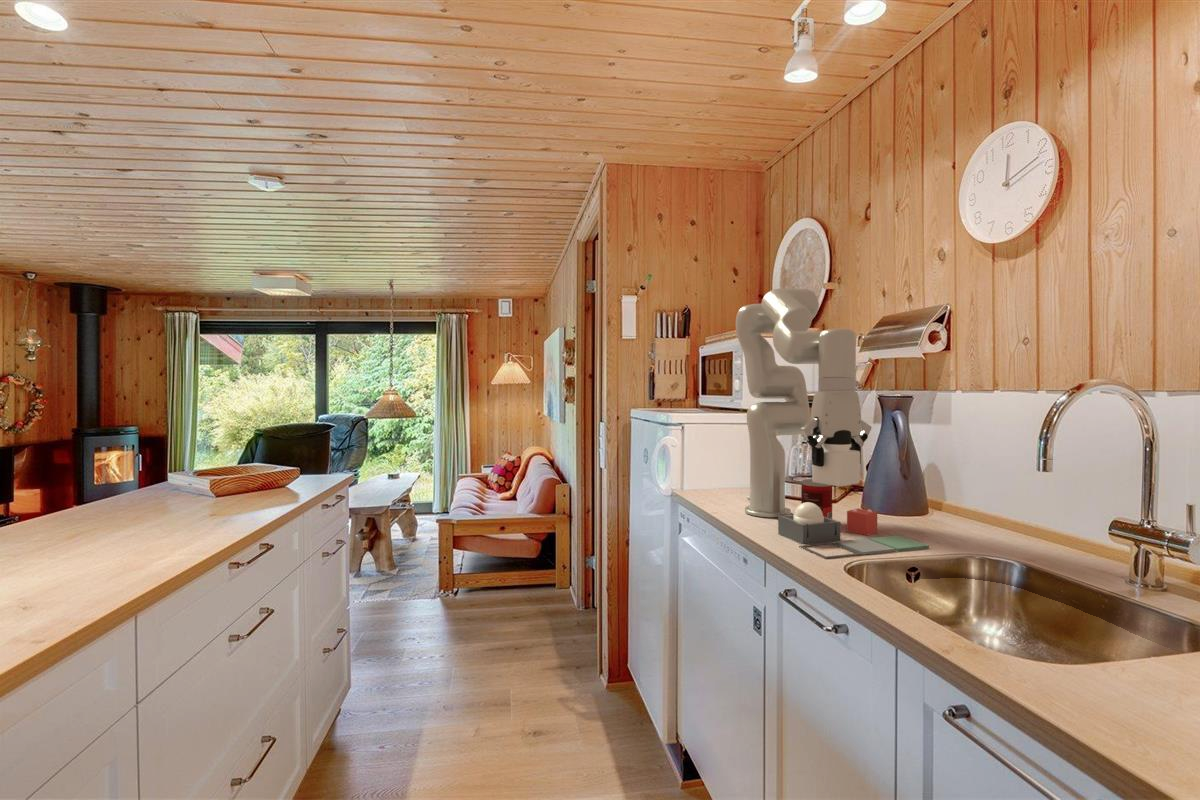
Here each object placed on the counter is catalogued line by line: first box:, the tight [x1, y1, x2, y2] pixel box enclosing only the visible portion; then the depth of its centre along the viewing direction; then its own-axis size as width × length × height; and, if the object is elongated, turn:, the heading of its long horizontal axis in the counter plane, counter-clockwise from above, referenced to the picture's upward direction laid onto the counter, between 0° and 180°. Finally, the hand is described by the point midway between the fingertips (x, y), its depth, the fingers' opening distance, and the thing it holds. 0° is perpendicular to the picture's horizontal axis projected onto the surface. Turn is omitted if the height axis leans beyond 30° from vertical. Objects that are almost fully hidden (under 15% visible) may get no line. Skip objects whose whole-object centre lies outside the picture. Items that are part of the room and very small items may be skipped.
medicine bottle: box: [811, 430, 861, 488], centre depth 126 cm, size 7×7×12 cm
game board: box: [798, 534, 930, 560], centre depth 128 cm, size 9×27×1 cm, turn 105°
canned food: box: [800, 478, 833, 519], centre depth 151 cm, size 8×8×11 cm
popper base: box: [777, 514, 841, 545], centre depth 137 cm, size 10×10×4 cm
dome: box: [793, 502, 824, 524], centre depth 137 cm, size 7×7×6 cm
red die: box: [846, 507, 878, 536], centre depth 142 cm, size 5×5×6 cm
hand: (836, 464), depth 126 cm, fingers closed on medicine bottle, 8 cm apart
